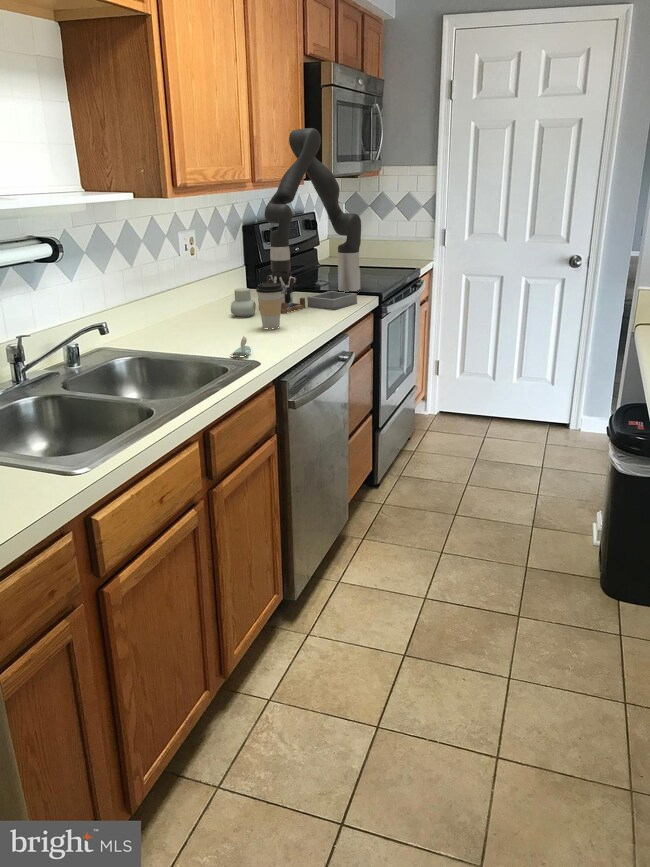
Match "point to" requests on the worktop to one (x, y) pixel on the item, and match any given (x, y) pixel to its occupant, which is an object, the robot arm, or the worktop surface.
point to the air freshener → (243, 303)
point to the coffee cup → (270, 304)
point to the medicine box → (284, 297)
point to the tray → (332, 300)
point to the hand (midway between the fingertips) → (282, 302)
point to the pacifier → (242, 348)
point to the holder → (292, 308)
